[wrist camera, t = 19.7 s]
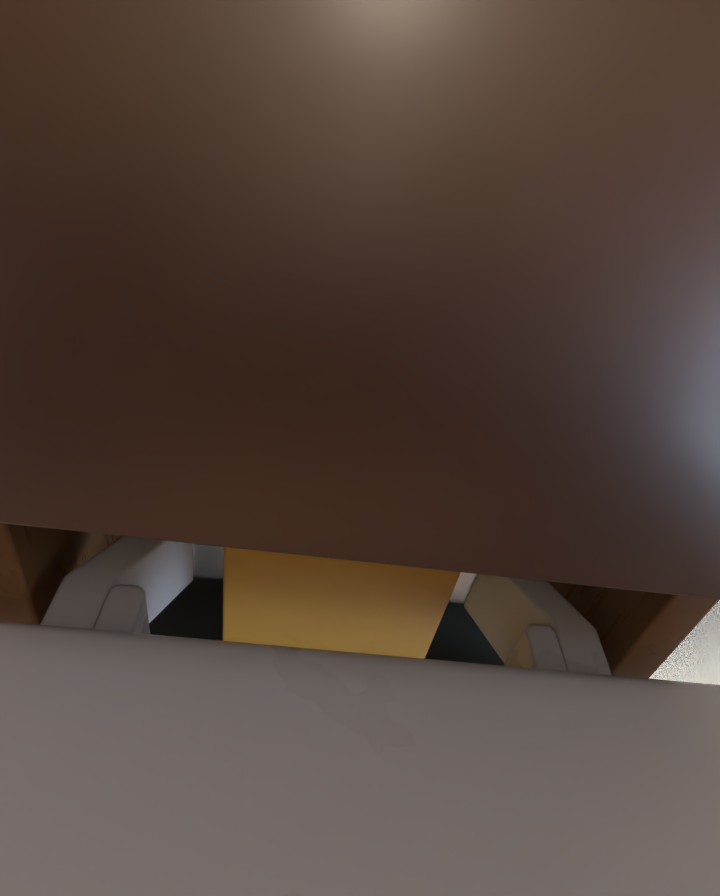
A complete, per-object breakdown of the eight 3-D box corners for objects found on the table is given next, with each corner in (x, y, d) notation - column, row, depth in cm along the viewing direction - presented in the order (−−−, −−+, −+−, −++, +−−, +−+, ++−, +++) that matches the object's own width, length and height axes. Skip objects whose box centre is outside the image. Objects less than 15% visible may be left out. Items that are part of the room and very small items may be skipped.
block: (447, 400, 14) (474, 541, 10) (408, 527, 16) (420, 672, 13) (260, 374, 13) (223, 513, 10) (252, 509, 16) (221, 654, 13)
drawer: (478, 659, 23) (512, 866, 17) (127, 627, 22) (50, 839, 16) (800, 47, 10) (1260, 128, 5) (1, -116, 9) (-511, -240, 4)
